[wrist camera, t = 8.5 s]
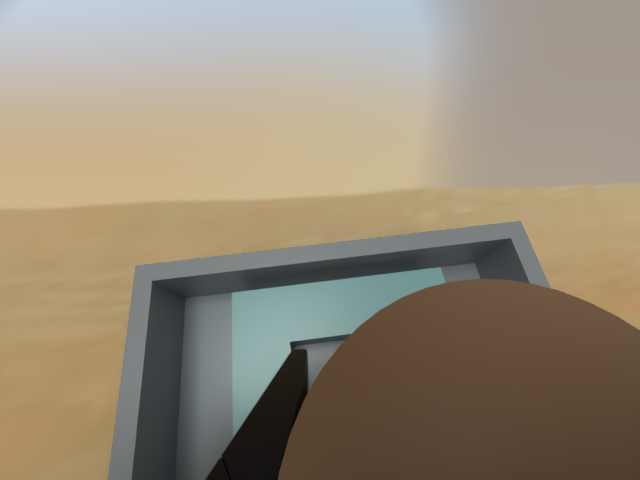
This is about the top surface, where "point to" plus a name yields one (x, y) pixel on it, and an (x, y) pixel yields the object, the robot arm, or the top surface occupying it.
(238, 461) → the robot arm
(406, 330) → the peg
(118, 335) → the top surface
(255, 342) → the rim box
